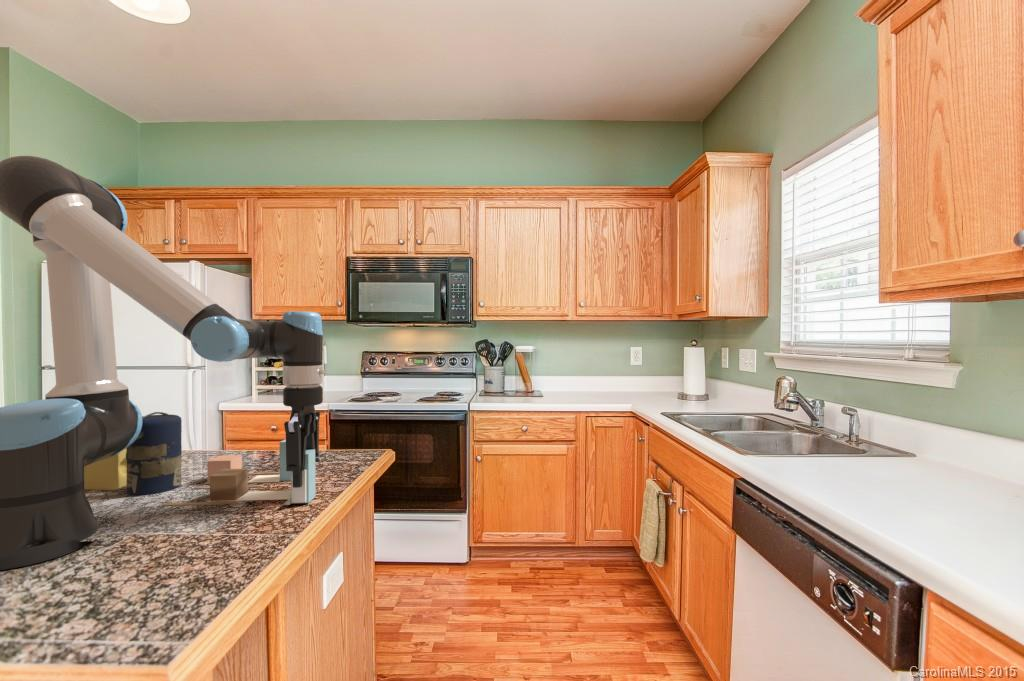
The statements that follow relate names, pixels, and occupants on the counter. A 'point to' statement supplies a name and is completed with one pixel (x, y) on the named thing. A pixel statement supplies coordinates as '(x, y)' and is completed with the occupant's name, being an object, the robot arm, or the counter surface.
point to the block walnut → (228, 484)
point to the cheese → (107, 473)
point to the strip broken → (283, 473)
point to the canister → (155, 456)
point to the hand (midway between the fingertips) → (303, 497)
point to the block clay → (223, 464)
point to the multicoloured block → (288, 493)
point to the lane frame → (219, 501)
